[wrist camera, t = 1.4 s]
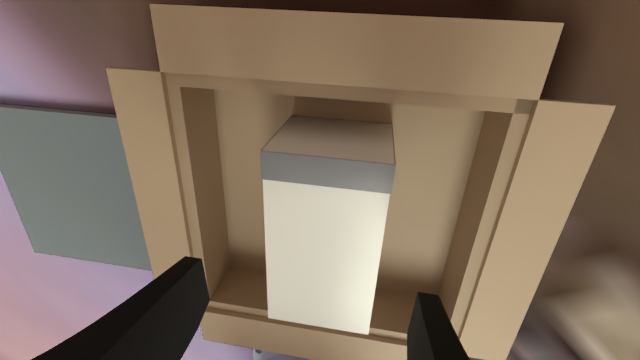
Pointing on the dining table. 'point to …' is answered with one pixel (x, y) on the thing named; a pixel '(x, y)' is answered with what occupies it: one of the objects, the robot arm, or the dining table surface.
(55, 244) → the mat
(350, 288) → the box
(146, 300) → the robot arm
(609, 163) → the dining table surface
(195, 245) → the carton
